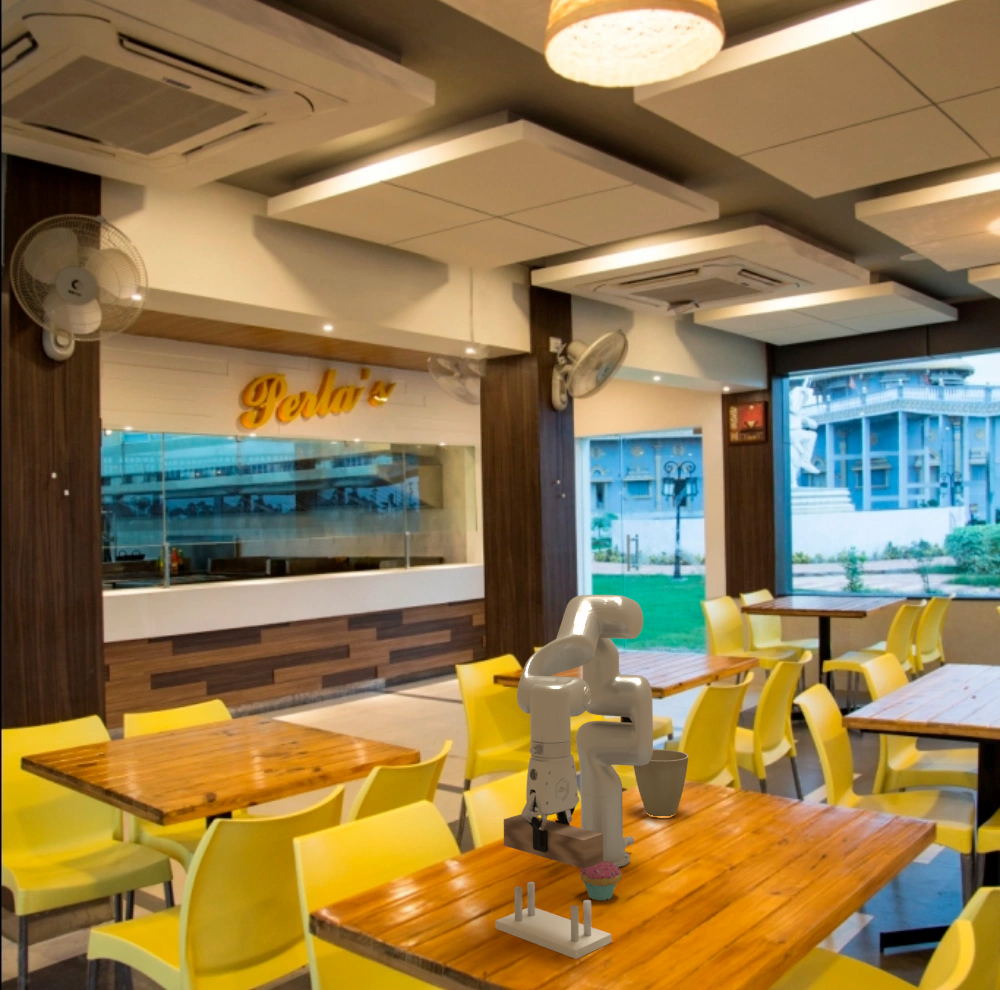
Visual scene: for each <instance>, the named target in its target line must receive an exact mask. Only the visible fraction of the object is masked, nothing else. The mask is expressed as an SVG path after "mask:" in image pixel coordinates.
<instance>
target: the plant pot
mask: <svg viewBox="0 0 1000 990" xmlns="http://www.w3.org/2000/svg"><path fill="white" fill-rule="evenodd" d="M688 762H689V755H688V753H685V752H683V751H678V750H672V749H671V750H670V749H653V753H652V758H651V760H650V762H649V763H648V764H646V765H643V766H633V771H634V777H635V780H636V784H637V788H638V792H639V796H640V799H641V801H642V805H643V807H644V810H645V812H647V813H648V814H650V815H653V816H671V815H674V814H675V813H676V814H677V811H678V807H679V805H680V802H681V799H682V798H681V797H682V795H683V790H684V787H685V783H686V776H687V772H688V770H687V769H688V765H689V764H688ZM647 813H646V814H647ZM676 814H675V815H676Z"/></svg>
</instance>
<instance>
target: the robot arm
mask: <svg viewBox="0 0 1000 990" xmlns="http://www.w3.org/2000/svg"><path fill="white" fill-rule="evenodd" d="M643 615H644V614H643V610H642V608H641V606H640V604H639V603H638V602H637V601H635V600H634V599H631V598H629V597H627V596H624V595H619V594H618V595H615V594H614V595H613V594H581V595H578V596H574V597H573V598H572V599H570V601H568V603H567V604H566V608H565V610H564V613H563V617H562V620H561V624H560V626H559V629H558V632H557V636H556V637H555V638H556V639H553V640H552V641H550V642H548V643H547V644H545V645H544V646H542V647H541V648H540V649H538V650H537V651H536V652H534V653H533V654H532V655H531V656H530V657H529V658H528V660H527V661H526V663H525V665H524V666H523V670H522V673H521V676H520V679H519V682H518V686H517V689H516V690H517V691H516V701H517V704H518V707H519V709H520V710H522V712H524V713H526V714H530V748H529V754H530V758H529V762H528V767H527V777H526V793H525V794H526V795H525V799H526V802H525V805H524V807H523V808H522V811H521V814H522V816H523V817H524V818H525V819H526V820H527V822H528V823H529V824H530V827H531V828H533V849H534V850H537V851H541V852H547V850H548V847H547V830H545V826H546V822H547V820H548V816H552V815H555V816H556V818H557V819H556V820H555V821H554V822H558V823H562V824H566V825H570V824H571V822H572V820H573V817H572V815H573V814H574V813H575V809H576V807H577V806H578V804H579V802H580V828H582V829H586V830H590V831H594V832H598V833H601V834H603V861H607V862H611V863H613V864H614V865H616V866H617V867H618V868H621V866H622V867H625V866H626V865H628V864H629V863H630V861H631V856H630V853H628V852H627V851H626V848H627V847H629V846H631V845H633V844H634V843H635V838H634V837H633V836H632V835H628V836H626V837H624V835H623V834H624V833H623V832H624V830H623V829H624V826H623V825H624V824H623V823H624V820H623V819H624V818H623V817H624V816H623V811H624V810H623V783H622V779H621V778H620V776H619V773H618V772H617V770H616V769H615V767H613V766H615V765H618V766H633V767H634V766H643V765H646V764H648V763H649V762H650V760H651V758H652V753H653V750H654V725H653V723H654V721H653V720H654V718H653V716H654V713H653V710H654V709H653V693H652V685H651V684H650V682H649V680H648V679H647V678H646V677H644V676H642V675H637V674H621V672H620V653H619V650H618V647H617V646H616V645H615V643H614V641H613V640H612V639H622V640H623V639H624V640H629V639H631V640H632V639H636V638H637V637H639V635H640V634H641V632H642V630H643V625H644V616H643ZM579 667H582V678H579V677H575V676H573V677H572V676H555V675H556V674H560V673H563V672H567V671H570V670H572V669H576V668H579ZM585 712H587V713H589V714H591V715H595V716H605V717H624V718H629V719H630V721H631V722H624V721H623V722H620V721H608V720H607V721H606V720H593V721H587V722H584V723H583V724H581V725H580V726H579V727H578V729H577V731H576V736H575V737H576V738H575V740H576V741H575V742H576V743H575V744H576V750H577V755H578V762H579V770H580V771H579V772H580V773H579V774H580V797H579V794H578V791H579V790H578V777H577V770H576V762H575V759H574V755H573V754H572V752H571V751H572V749H571V748H572V747H571V737H572V736H571V718H572V717H573V718H574V717H578V716H581V715H583V714H584V713H585ZM539 816H540V818H541V819H540V821H539V820H538V817H539ZM570 826H571V825H570Z"/></svg>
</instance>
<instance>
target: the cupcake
mask: <svg viewBox="0 0 1000 990" xmlns="http://www.w3.org/2000/svg"><path fill="white" fill-rule="evenodd" d="M579 873H580V876H579V877H580V880H581V881H582V882H583V884H584V886H585V888H586V891H587V894H588V897H589V899H591V898H592V899H591V900H594V899H597V900H596V901H601V900H602V901H607V900H606V899H608V900H610V899H612V898H613V894H614V891H615V887H616V885H617V883H619V881H621V880H622V875H623V873H622V871H621V869H620V867H617V866H616V865H614V864H613V863H611V862H607V861H603V862H601V863H599V864H596V865H593V866H590V867H588V868H585V869H582V868H580V870H579Z"/></svg>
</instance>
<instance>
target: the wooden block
mask: <svg viewBox="0 0 1000 990" xmlns="http://www.w3.org/2000/svg"><path fill="white" fill-rule="evenodd" d="M540 819H541V817H539V816H538V820H539V821H540ZM545 830H547V847H548V850H547V852H541V851H537V850H534V849H533V828H531V827H530V824H529V823H528V822H527V820H526V819H525V818H524V817H523V816H522V813H521V814H518V815H514V816H511V817H507V818H504V819H503V846H504V847H507V848H511V849H514V850H518V851H521V852H525V853H528V854H531V855H535V856H539V857H541V858H545V859H548V860H553V861H556V862H559V863H563V864H566V865H569V866H573V867H576V868H580V869H581V868H582V869H585V868H588V867H590V866H593V865H596V864H599V863H601V862H603V834H601V833H598V832H594V831H590V830H586V829H582V828H581V827H578V826H573V825H566V824H562V823H558V822H555V821H554V820H550V819H547V822H546V826H545Z"/></svg>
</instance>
